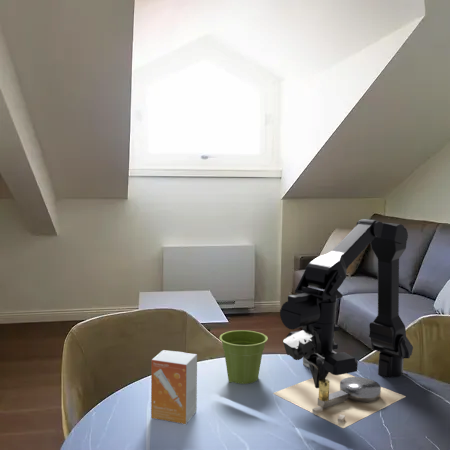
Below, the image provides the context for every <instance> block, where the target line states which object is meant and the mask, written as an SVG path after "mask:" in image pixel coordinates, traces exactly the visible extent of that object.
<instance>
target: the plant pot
mask: <svg viewBox="0 0 450 450" xmlns="http://www.w3.org/2000/svg"><path fill="white" fill-rule="evenodd" d="M219 340H220V342H221V343H222V350H223V352H224V359H225V366H226V373H227V379H228V380H227V381H228V382H229V383H235V384H241V385H246V384H252V383H255V382H258V380H259V375H260V368H261V365H262V359H263V352H264V350H265V345H266V342H267V341H268V335H266V334H264V333H262V332H258V331H255V330H254V331H253V330H241V329H238V330H230V331H226V332H224V333H221V334H220V336H219Z"/></svg>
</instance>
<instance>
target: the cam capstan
mask: <svg viewBox="0 0 450 450" xmlns="http://www.w3.org/2000/svg"><path fill="white" fill-rule="evenodd" d="M329 383H330V381H329V380H327V379H320V380H319V398H318V406H320V407H322V408H324V409H325V408H327V407H330V406H333V405H336V404H339V403H342V402H345V401H348V399H349V400H352V401H356V402H374V401H377V400H379V399H380V395H381V387H382V386H381V385H380V384H379V383H378V382H377V381H375V380H373V379H369V378H368V377H367V378H366V377H360V376H355V377H348V378H345V379H342V380H341V382H340V391H337V392H334V393H331V394H329Z"/></svg>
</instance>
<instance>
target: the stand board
mask: <svg viewBox="0 0 450 450" xmlns="http://www.w3.org/2000/svg"><path fill="white" fill-rule="evenodd" d="M348 377H356V376H354V375H352V374H351V373H346V374H341V375H333V374H331V373H330V372H329V373H328V375H327V376H326V378H325V379H327V380H329V381H330V383H329V394H331V393H334V392H337V391H340V382H341V380H342V379H345V378H348ZM272 394H273V395H275V396H277V397H279V398H281V399H283V400H285V401H287V402H289V403H292V404H294V405H296V406H297V407H299V408H301V409H303V410H306V411H308V412H310V413H311V414H313V415H315V416H317V417H319V418H321V419H323V420H325V421H327V422H329V423H331V424H333V425H336V426H338V427H339V428H341V429H345V428H347V427H349V426H352V425H353V424H355V423H358V422H359V421H361V420H363V419H365V418H367V417H369V416H371V415H373V414H375V413H377V412H378V411H381V410H382V409H385V408H387V407H389V406H390V405H393V404H394V403H396V402H398V401H400V400H402V399H404V398H406V397H407V396H406V395H404V394H401V393H398V392H396V391H393V390H391V389H388V388H385V387H383V386H381V395H380V399H379V400H377V401H374V402H356V401H352V400H349V399H348V401H345V402H342V403H339V404H336V405H333V406H330V407H327V408H325V409H324V408H322V407H320V406H318V398H319V388H316V387H315V384H314V380H313V377H311V378H309V379H306V380H303V381H301V382H299V383H296V384H292V385H290V386H288V387H285V388H282V389H280V390H277V391H275V392H273V393H272Z"/></svg>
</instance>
